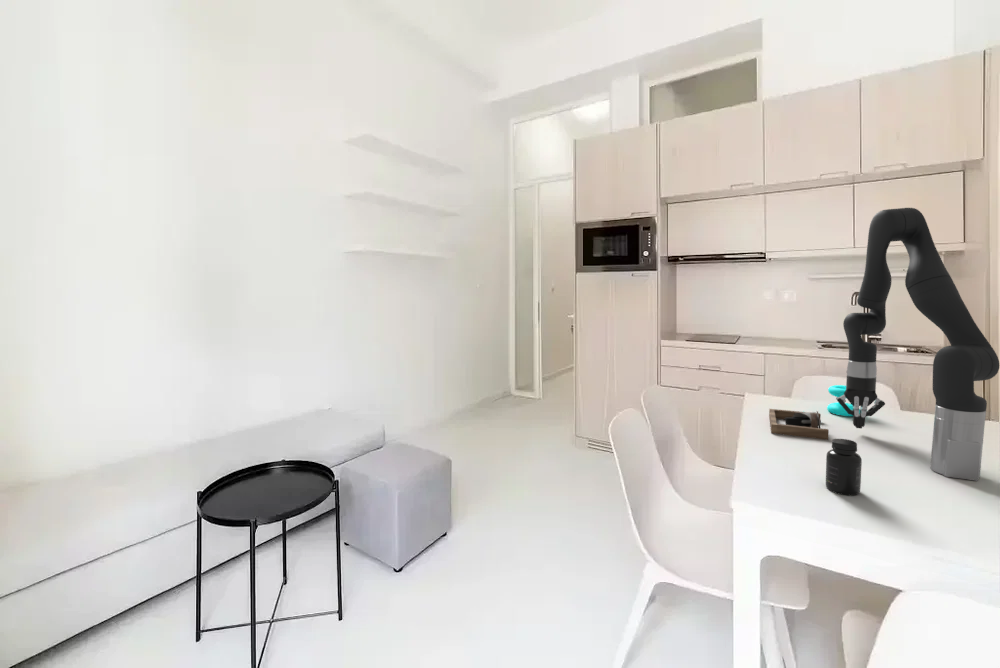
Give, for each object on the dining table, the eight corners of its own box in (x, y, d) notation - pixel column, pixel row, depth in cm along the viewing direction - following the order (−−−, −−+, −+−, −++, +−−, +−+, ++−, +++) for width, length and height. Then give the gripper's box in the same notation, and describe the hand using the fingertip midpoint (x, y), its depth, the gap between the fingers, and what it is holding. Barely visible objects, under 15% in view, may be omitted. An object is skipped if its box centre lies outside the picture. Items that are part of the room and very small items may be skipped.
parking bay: (828, 439, 147) (828, 430, 147) (771, 433, 154) (771, 424, 154) (819, 421, 166) (820, 413, 165) (769, 416, 173) (769, 408, 173)
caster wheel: (786, 430, 165) (820, 430, 160) (786, 432, 155) (823, 432, 150) (783, 411, 166) (817, 410, 161) (784, 412, 156) (820, 411, 151)
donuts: (857, 391, 167) (824, 387, 174) (855, 419, 168) (823, 413, 176) (865, 387, 173) (833, 383, 181) (863, 413, 174) (831, 408, 182)
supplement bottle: (845, 483, 116) (848, 436, 115) (867, 495, 109) (871, 446, 108) (818, 484, 116) (820, 437, 115) (838, 496, 109) (842, 447, 108)
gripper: (838, 375, 150) (835, 428, 151) (890, 378, 144) (887, 433, 145) (834, 371, 156) (832, 422, 158) (884, 374, 150) (881, 426, 152)
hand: (858, 427), depth 152 cm, fingers closed
